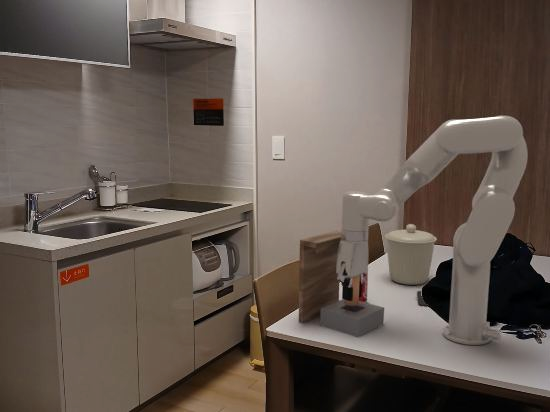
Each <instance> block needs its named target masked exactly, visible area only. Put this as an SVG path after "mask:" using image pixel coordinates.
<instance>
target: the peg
mask: <svg viewBox="0 0 550 412" xmlns="http://www.w3.org/2000/svg"><path fill="white" fill-rule="evenodd" d="M346 275H347V273H346ZM346 279H347V280H348V282H349V278H346ZM359 282H360V274H359V275H356V276H354V277H353V281H352V287H353V300H352V301H347V300H345V304H346V305H349V306H356V305H358V304H359Z"/></svg>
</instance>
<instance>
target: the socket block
mask: <svg viewBox="0 0 550 412" xmlns="http://www.w3.org/2000/svg"><path fill="white" fill-rule="evenodd" d="M319 317H320V318H319V319H320V320H319V321H320V326H323V327H326V328H329V329H332V330H335V331H338V332H341V333H344V334H348V335H351V336H354V337H357V338H359V337H361V336H363V335H365V334H367V333H369V332H372V331H373V330H376V328H378V327H382V326H383V325H384V323H385V322H384V320H385V307H383V306H380V305H377V304H371V303H368V302H366V303H365V302H361V301H359V304H358V305H356V306H349V305H346V304H345V300H344V299H342V298H341V299H339V301H337V302H335V303H332V304H330V305H328V306H325V307H323V308H321V316H319Z"/></svg>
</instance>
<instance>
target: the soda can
mask: <svg viewBox="0 0 550 412" xmlns="http://www.w3.org/2000/svg"><path fill="white" fill-rule="evenodd" d="M368 276H369V270H368V271H367V272H366V274H365V276H364V278H363V279H364V282H363V283H361V284H362V297H359V301H361V302H365V303H367V302H368V284H369V283H368V281H369V279H368V278H369V277H368Z"/></svg>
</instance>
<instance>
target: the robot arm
mask: <svg viewBox="0 0 550 412" xmlns="http://www.w3.org/2000/svg"><path fill="white" fill-rule="evenodd" d="M481 153H482V154H483V153H491V159H490V163H489V165H488V167H487V170H486V172H485V175H484V177H483V179H482V181H481V183H480V185H479V187H478V189H477V191H476V193H475V194H474V195H473V197H472V201H471V207H472V210H471V212H470V214H469V216H468V218H467V221H466V222H465V223H462V224H461V225H460V226H459V227H458V228H457V229H456V230H455V233H454V235H453V243H452V271H451V282H450V283H451V285H450V289H451V290H450V299H449V300H450V301H449V302H450V303H449V318H448V319H449V320H448V325H445V326H444V327H443V328H442V335H443V336H444V337H445V338H446V339H448V340H450V341H451V342H454V343H458V344H463V345H469V346H471V345H472V346H480V345H481V346H482V345H486V344H489V343H490V342H491V341H492V339H493V340H496V341H500V340H501V338H502V333H500V330H499V329H496V328H492V327H491V326H490V323H491V322H490V321H487V317H488V316H487V314H488V302H489V288H490V287H489V286H490V277H491V261H492V259H494V257H495V255H496V254H497V252H498V250H499V248H500V246H501V244H502V242H503V241H504V238H505V236H506V234H507V232H508V230H509V228H510V226H511V224H512V221H513V220H514V216H515V211H516V206H515V205H516V204H515V201H514V199H513V198H514V196H515V194H516V192H517V190H518V187H519V185H520V183H521V180H522V179H523V175H524V173H525V170H526V168H527V164H528V153H529V152H528V147H527V142H526V140H525V137H524V130H523V127H522V125H521V122H519V121H518V119H516V118H515V117H513V116H509V115H497V116H496V115H495V116H492V117H491V116H490V117H480V118H478V117H477V118H469V119H449V120H446V121H444V122H443V123H442V124H441V125H440V126H439V127H438V128H437V129H436V130H435V131H434V132H433V133H432V134H431V135H430V136H429V137H428V138H427V139H426V140H425V141H424V142H423V143H422V144H421V145H420V146H419V147H418V148H417V149H416V150H415V151H414V152H413V153H412V154H411V155H410V156H409V157H408V158H407V160H406V161H404V163H403V164H402V166H401V167H400V169H398V170H397V172H395V174H394V175H393V176H392V177H391V178H390V179H388V181H387V182H385V184H383V186H382V187H380V189H378V191H377V192H376V193H374V194H369V193H368V192H365V191H360V190H349V191H345V192H344V194H343V195H342V200H341V201H342V208H341V226H340V227H341V228H340V229H341V230H340V231H341V241H340V243H339V248H338V254H337V264H336V274H337V275H338V277H337V280H339V283H340V284H341V286H342V289H341V290H342V291H341V293H342V295H341V300H342V299H344V300H347V301H352V300H353V287H352V281H353V277H354V276H356V275H359V274H360V282H359V297H362V284H361V283H363V282H364V279H363V278H364V276H365V274H366V272H367V271H368V272H369V230H370V229H369V226H370V220H371V221H375V222H389V221H390V220H392V219H393V218H394V217H395V216H396V214H397V211H398V209H399V208H400V207H401V206H402V205H403V204H404V203H405V202H406V201H407V200H408V199H409V198H410V197H411V196H412V195H413V194H414V193H416V192H417V191H418V190H419V189H420V188H421V187H424V186H425V185H427V184H429V183H430V182H432V181H433V180H434V179H435V178H436V177H437V176H439V174H440V173H441V172H442V171H443V170H444V169H445V168H446V167H447V166H448V165H449V164H450V163H451V162H452V161H453V160H454V159H455V158H456V157H457V156H458V155H462V154H463V155H465V154H466V155H467V154H469V155H470V154H481ZM346 273H347V275H346ZM346 278H349V282H348V280H347V279H346Z"/></svg>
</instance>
